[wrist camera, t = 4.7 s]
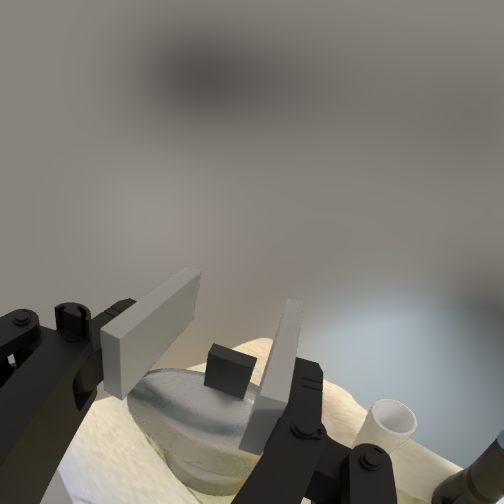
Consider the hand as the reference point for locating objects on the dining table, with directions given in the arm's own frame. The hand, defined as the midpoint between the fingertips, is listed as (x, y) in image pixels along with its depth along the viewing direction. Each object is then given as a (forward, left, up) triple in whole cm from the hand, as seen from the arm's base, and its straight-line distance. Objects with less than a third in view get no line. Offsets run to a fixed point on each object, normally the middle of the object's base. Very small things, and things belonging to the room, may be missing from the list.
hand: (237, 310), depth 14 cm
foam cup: (-36, +5, -38) cm, 53 cm away
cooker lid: (-4, -4, -16) cm, 17 cm away
